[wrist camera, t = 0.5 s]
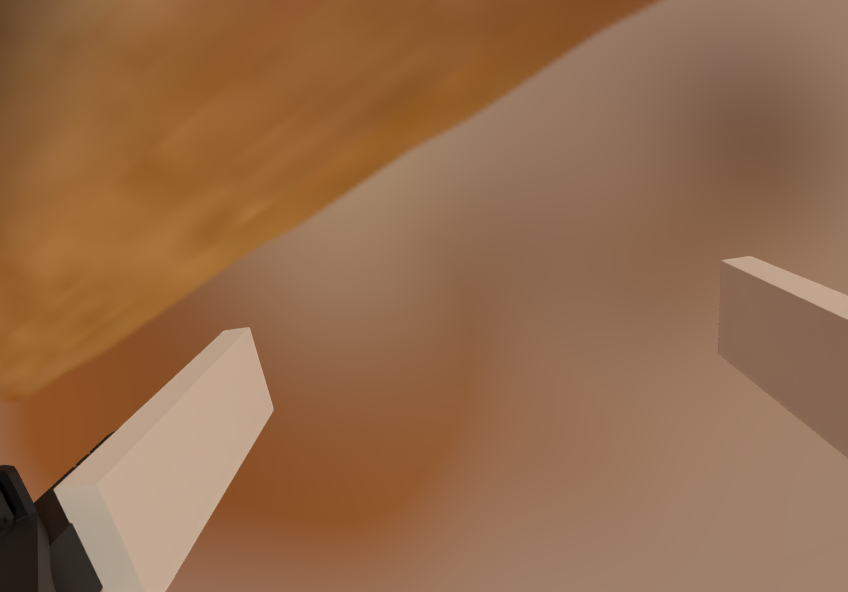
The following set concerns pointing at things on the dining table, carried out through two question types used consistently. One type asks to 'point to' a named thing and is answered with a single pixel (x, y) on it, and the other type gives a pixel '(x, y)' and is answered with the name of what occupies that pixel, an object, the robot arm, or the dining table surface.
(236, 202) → the dining table surface
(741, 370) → the robot arm
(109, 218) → the dining table surface
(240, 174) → the dining table surface
